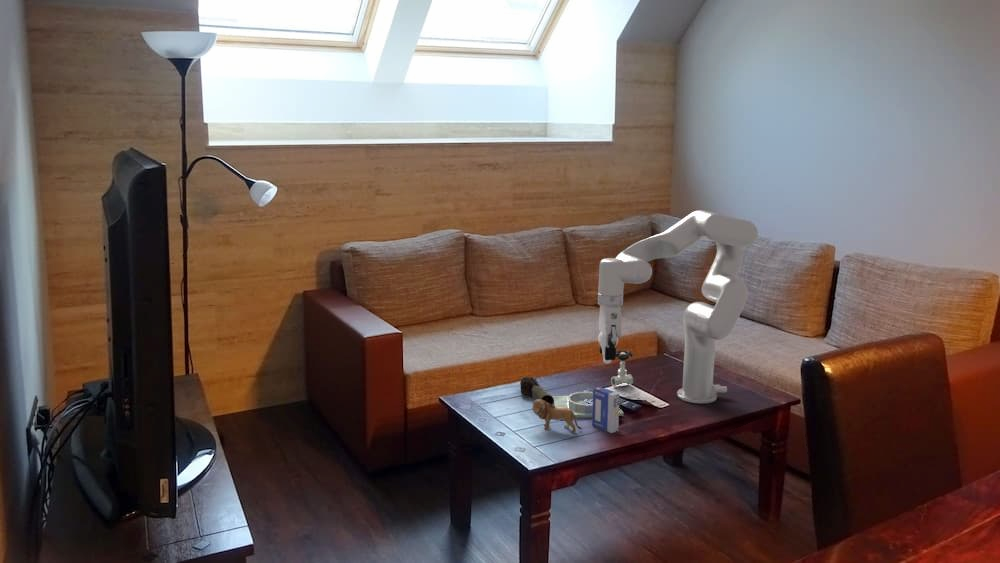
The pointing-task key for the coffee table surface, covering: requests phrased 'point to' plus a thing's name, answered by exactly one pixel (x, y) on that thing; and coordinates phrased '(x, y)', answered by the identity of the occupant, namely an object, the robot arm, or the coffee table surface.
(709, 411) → the coffee table surface
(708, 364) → the robot arm
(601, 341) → the lightbulb
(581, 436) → the coffee table surface
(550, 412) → the lion figurine
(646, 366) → the coffee table surface
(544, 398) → the brown camo elongated piece
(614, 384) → the valve
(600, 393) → the walkman
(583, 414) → the duct collar
